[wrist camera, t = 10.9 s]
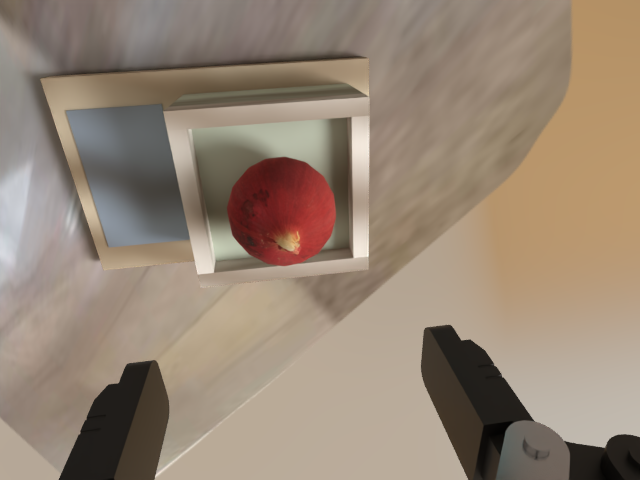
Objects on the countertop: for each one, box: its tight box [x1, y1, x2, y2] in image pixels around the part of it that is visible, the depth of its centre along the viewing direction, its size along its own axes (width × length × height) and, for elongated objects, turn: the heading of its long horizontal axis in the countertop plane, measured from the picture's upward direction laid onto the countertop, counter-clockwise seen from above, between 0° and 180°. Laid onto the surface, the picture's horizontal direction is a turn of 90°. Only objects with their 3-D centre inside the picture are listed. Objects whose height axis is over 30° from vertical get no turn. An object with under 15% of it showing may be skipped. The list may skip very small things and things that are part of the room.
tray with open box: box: [40, 57, 369, 288], centre depth 28 cm, size 14×21×8 cm, turn 93°
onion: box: [227, 157, 336, 266], centre depth 22 cm, size 6×6×8 cm
